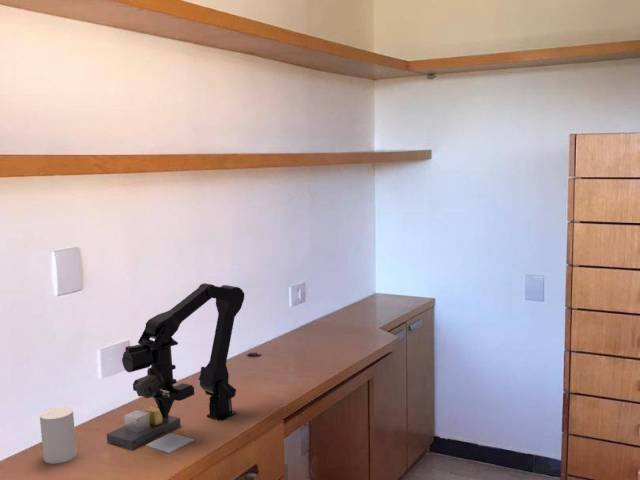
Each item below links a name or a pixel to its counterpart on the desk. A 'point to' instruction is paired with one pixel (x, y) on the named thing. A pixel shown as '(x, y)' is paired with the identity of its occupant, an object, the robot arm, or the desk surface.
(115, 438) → the dark grey base plate
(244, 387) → the desk surface
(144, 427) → the light grey block
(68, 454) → the cup
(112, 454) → the desk surface
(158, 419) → the block
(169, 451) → the felt mat
